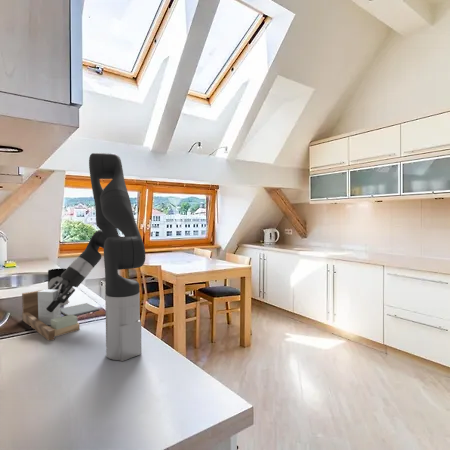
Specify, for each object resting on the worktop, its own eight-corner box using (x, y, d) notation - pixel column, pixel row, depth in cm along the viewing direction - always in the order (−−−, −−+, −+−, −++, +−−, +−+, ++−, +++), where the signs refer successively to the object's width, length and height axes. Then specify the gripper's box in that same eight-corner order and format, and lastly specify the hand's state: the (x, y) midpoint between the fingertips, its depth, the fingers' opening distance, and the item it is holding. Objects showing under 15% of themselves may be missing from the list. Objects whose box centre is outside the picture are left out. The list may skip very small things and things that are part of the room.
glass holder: (46, 307, 133) (45, 272, 133) (47, 299, 146) (47, 267, 145) (69, 304, 137) (69, 270, 137) (68, 297, 150) (68, 265, 149)
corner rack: (82, 331, 106) (81, 302, 106) (49, 340, 98) (48, 309, 98) (51, 313, 125) (51, 288, 125) (21, 319, 118) (21, 293, 117)
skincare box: (61, 321, 116) (60, 289, 116) (53, 325, 112) (53, 292, 111) (45, 321, 117) (45, 288, 116) (37, 325, 112) (37, 291, 112)
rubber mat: (99, 310, 130) (99, 308, 130) (69, 317, 121) (69, 315, 121) (86, 304, 138) (86, 303, 138) (57, 310, 129) (57, 309, 129)
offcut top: (77, 323, 108) (77, 316, 108) (56, 329, 102) (56, 322, 102) (71, 321, 110) (71, 314, 110) (50, 327, 105) (50, 319, 105)
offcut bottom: (79, 330, 108) (79, 323, 108) (54, 337, 102) (54, 330, 102) (73, 327, 111) (73, 320, 111) (48, 334, 105) (48, 326, 105)
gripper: (62, 263, 124) (29, 299, 116) (78, 268, 114) (43, 307, 106) (76, 275, 128) (45, 310, 120) (92, 280, 118) (60, 318, 110)
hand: (44, 308), depth 113 cm, fingers closed on skincare box, 7 cm apart
